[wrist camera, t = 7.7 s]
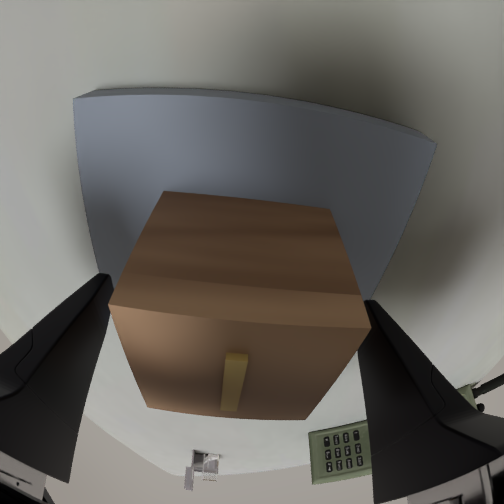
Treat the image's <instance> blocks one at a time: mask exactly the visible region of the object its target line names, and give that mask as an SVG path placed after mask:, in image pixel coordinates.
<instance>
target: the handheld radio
mask: <svg viewBox="0 0 504 504" xmlns="http://www.w3.org/2000/svg"><path fill="white" fill-rule="evenodd" d="M475 383H476V382H475ZM475 383H472V384H469V385H466V386H464V387H462V388H459V389H457V391H458V392H459V393H460V394H461V395H462V396H463V397H464V398H465V399H466V400H467V401H468V402H469V403H470V404H471V405H472V406H473V407H474V408H476V409H477V410H478V411H480V412H483V411H484V404H482V403H480V404H477V405H476V403H475V400H474V399H475V398H477V397H478V396H479V395H481V394H485V393H487V392H489V391H491V390H493V389H495V388H497V387H499V386H501V385H503V384H504V374H502V375H500V376H498V377H496V378H494V379H492V380H490V381H488V382H486V383H484V384H482V385H481V386H480V387H478V388H474V389H471V387H473V386H474V385H475ZM308 436H309V448H310V461H311V474H312V484H314V485H315V484H322V483H328V482H335V481H341V480H346V479H351V478H356V477H361V476H365V475H370V474H372V466H371V453H370V443H369V433H368V424H367V420H365V421H361V422H357V423H353V424H348V425H344V426H339V427H335V428H330V429H325V430H320V431H314V432H309V433H308Z"/></svg>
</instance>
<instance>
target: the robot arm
mask: <svg viewBox="0 0 504 504" xmlns="http://www.w3.org/2000/svg"><path fill="white" fill-rule="evenodd" d="M113 292H114V287H113V283H112V279H111V276H110V275H109V274H105V273H98V274H97V275H96V276H94V277H93V278H92V279H90V280H89V281H88V282H87V283H85V284H84V285H83V286H82V287H80V288H79V289H78V290H77V291H75V292H74V293H73V294H72V295H70V296H69V297H68V298H67V299H66V300H64V301H63V302H62V303H61V304H60V305H58V306H57V307H56V308H55V309H54V310H52V311H51V312H50V313H49V314H48V315H46V316H45V317H44V318H43V319H42V320H41V321H39V322H38V323H37V324H36V325H35V326H34V327H33V328H32V329H30V330H29V331H28V332H27V333H26V334H25V335H23V336H22V337H21V338H20V339H19V340H18V341H16V342H15V343H14V344H13V345H11V346H10V347H9V348H8V349H6V350H5V351H4V352H2V353H1V354H0V504H55V503H54V502H53V500H52V499H51V497H50V495H49V493H48V492H47V490H46V489H45V487H44V486H45V481H46V476H47V475H49V476H51V477H53V478H56V479H58V480H60V481H63V482H66V483H69V479H70V473H71V467H72V462H73V456H74V451H75V446H76V441H77V437H78V434H77V433H78V431H79V427H80V423H81V418H82V414H83V410H84V406H85V402H86V398H87V395H88V391H89V387H90V384H91V380H92V377H93V373H94V370H95V366H96V363H97V360H98V357H99V353H100V350H101V347H102V344H103V341H104V338H105V334H106V330H107V326H108V322H109V317H110V313H111V312H110V309H109V306H108V303H109V301H110V298H111V296H112V294H113ZM363 302H364V305H365V308H366V312H367V315H368V318H369V321H370V325H371V330H370V331H369V333H368V334H367V336H366V337H365V339H364V341H363V342H362V344H361V345H360V347H359V348H358V350H357V351H358V360H359V367H360V373H361V379H362V386H363V393H364V400H365V408H366V416H367V424H368V433H369V443H370V453H371V466H372V480H373V498H374V504H380V503H384V502H388V501H392V500H396V499H399V498H403V497H406V496H407V500H408V504H504V418H501V417H497V416H493V415H488V414H484V413H482V412H480V411H478V410H477V409H476V408H474V407H473V406H472V405H471V404H470V403H469V402H468V401H467V400H466V399H465V398H464V397H463V396H462V395H461V394H460V393H459V392H458V391H457V390H456V389H455V388H454V387H453V386H452V385H451V384H450V382H449V381H448V380H447V379H446V378H445V377H444V376H443V375H442V374H441V373H440V371H439V370H438V369H437V368H436V367H435V366H434V365H432V362H431V361H430V360H429V359H428V358H427V357H426V355H425V354H424V353H423V352H422V351H421V350H420V349H419V347H418V346H417V345H416V344H415V343H414V342H413V341H412V340H411V338H410V337H409V336H408V335H407V334H406V333H405V332H404V331H403V330H402V328H401V327H400V326H399V325H398V324H397V323H396V322H395V321H394V320H393V319H392V318H391V316H390V315H389V314H388V313H387V312H386V311H385V310H384V309H383V308H382V307H381V306H380V305H379V304H378V303H377V302H376V301H375V300H364V301H363Z"/></svg>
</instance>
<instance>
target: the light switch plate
mask: <svg viewBox="0 0 504 504" xmlns="http://www.w3.org/2000/svg"><path fill="white" fill-rule="evenodd" d="M73 111H74V127H75V139H76V149H77V158H78V166H79V174H80V181H81V187H82V194H83V200H84V205H85V211H86V216H87V221H88V226H89V231H90V236H91V240H92V245H93V249H94V253H95V257H96V262H97V265H98V269H99V273H105V274H109V275H110V276H111V279H112V283H113V287H114V289H115V287H116V285H117V282H118V280H119V278H120V276H121V274H122V271H123V269H124V267H125V265H126V263H127V261H128V259H129V257H130V254H131V252H132V250H133V248H134V246H135V244H136V242H137V240H138V238H139V236H140V234H141V232H142V230H143V228H144V226H145V224H146V222H147V220H148V219H149V217H150V215H151V213H152V211H153V209H154V207H155V205H156V204H157V202H158V200H159V198H160V196H161V194H162V193H163V191H172V192H185V193H196V194H207V195H218V196H228V197H237V198H247V199H256V200H264V201H273V202H281V203H289V204H296V205H304V206H311V207H318V208H325V209H330V211H331V213H332V216H333V218H334V221H335V223H336V226H337V228H338V231H339V234H340V236H341V239H342V242H343V244H344V247H345V250H346V253H347V255H348V258H349V261H350V264H351V266H352V269H353V272H354V275H355V278H356V281H357V284H358V287H359V290H360V293H361V296H362V299H363V301H364V300H370V299H371V297H372V295H373V293H374V291H375V289H376V287H377V285H378V283H379V281H380V280H381V278H382V276H383V274H384V272H385V270H386V268H387V266H388V264H389V262H390V259H391V257H392V255H393V253H394V251H395V249H396V247H397V245H398V243H399V240H400V238H401V236H402V234H403V232H404V229H405V227H406V225H407V222H408V220H409V218H410V215H411V213H412V211H413V208H414V206H415V203H416V201H417V198H418V196H419V193H420V191H421V188H422V186H423V183H424V180H425V178H426V175H427V172H428V170H429V167H430V164H431V161H432V158H433V155H434V153H435V150H436V147H437V143H435V142H434V141H432V140H431V139H429V138H428V137H427V136H425V135H424V134H422V133H421V132H419V131H417V130H414V129H411V128H408V127H405V126H402V125H399V124H396V123H392V122H389V121H386V120H382V119H379V118H375V117H371V116H368V115H364V114H360V113H356V112H352V111H348V110H344V109H339V108H335V107H330V106H326V105H321V104H316V103H311V102H306V101H300V100H294V99H288V98H282V97H275V96H268V95H261V94H253V93H244V92H234V91H223V90H209V89H191V88H125V89H107V90H94V91H91V92H89V93H86V94H84V95H81V96H79V97H76V98H74V99H73Z"/></svg>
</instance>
